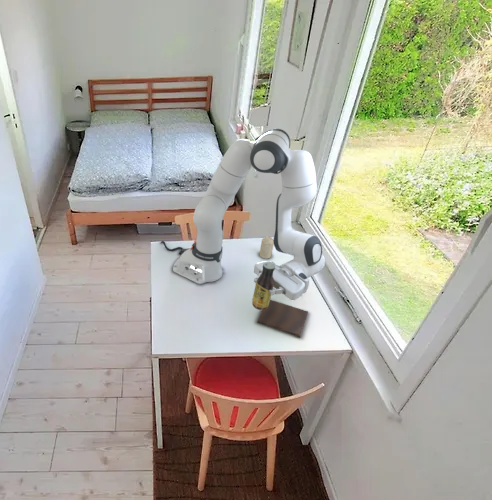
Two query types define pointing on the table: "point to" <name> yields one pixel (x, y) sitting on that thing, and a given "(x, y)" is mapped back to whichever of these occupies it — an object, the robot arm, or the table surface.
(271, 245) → the candle
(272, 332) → the table surface
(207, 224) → the robot arm
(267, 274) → the sauce bottle
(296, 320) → the serving board
